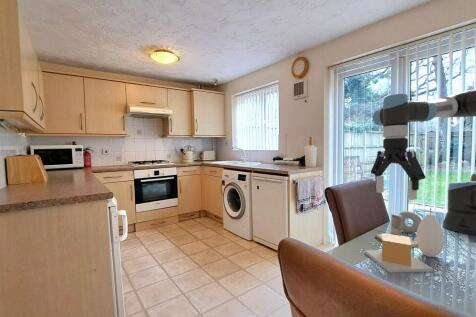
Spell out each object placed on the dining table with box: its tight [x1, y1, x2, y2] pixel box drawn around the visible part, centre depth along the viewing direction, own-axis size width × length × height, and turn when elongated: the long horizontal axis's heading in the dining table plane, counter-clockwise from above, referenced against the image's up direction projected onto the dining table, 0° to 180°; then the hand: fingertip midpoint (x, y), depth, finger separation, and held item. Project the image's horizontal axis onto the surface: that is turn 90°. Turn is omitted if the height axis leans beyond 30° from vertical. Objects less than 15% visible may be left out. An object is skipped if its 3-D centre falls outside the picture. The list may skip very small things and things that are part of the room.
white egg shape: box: [415, 206, 445, 258], centre depth 86 cm, size 8×8×18 cm
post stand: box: [374, 213, 419, 248], centre depth 99 cm, size 11×11×11 cm
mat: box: [364, 249, 434, 273], centre depth 82 cm, size 14×14×1 cm
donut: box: [398, 210, 422, 234], centre depth 110 cm, size 10×3×10 cm, turn 47°
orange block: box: [381, 232, 412, 266], centre depth 82 cm, size 8×8×7 cm
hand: (395, 195), depth 88 cm, fingers open, 13 cm apart
